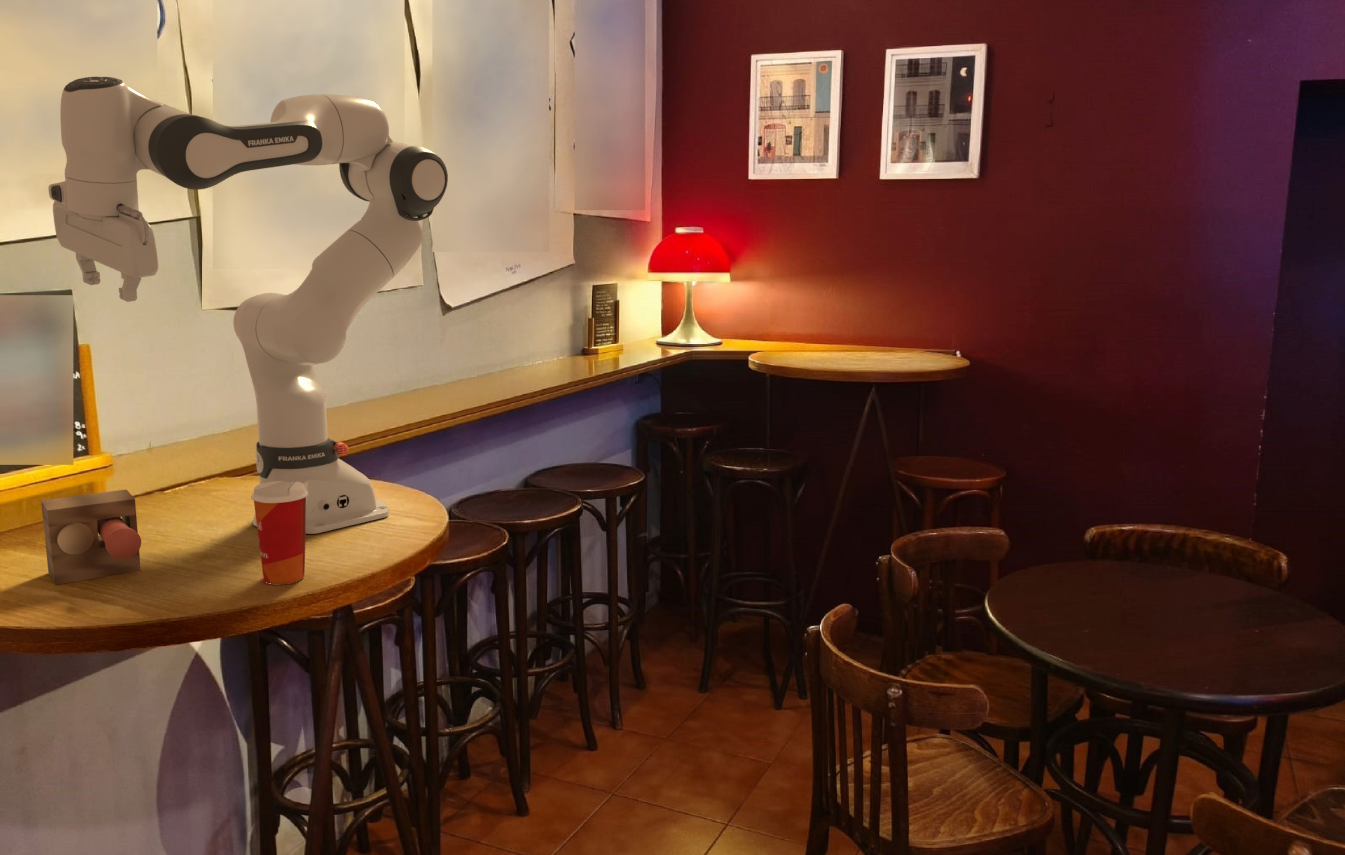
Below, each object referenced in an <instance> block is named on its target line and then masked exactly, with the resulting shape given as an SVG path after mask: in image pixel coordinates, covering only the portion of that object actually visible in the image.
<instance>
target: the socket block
mask: <svg viewBox="0 0 1345 855" xmlns="http://www.w3.org/2000/svg"><path fill="white" fill-rule="evenodd" d="M40 505H41V513H42V523H43V532H44V541H45V542H44V543H45V552H46V562H47V571H48V574H49V577H50V578H51V581H52V582H53V585H54V586H58V585H63V584H68V583H75V582H81V581H86V580H92V579H98V578H103V577H109V576H115V575H121V574H127V573H131V572H132V573H133V572H137V571H138V572H139V571H142V569H141V567H142V566H141V557H140V556H141V555H140V550H139V551H138V552H137V553H136V554H135V555H133V556H132V557H130V558H126V559H117V558H114V557H112V556H111V555H110V554H109V553H108V551H107V550H106V547H105V542H104V540H103V539H102V538H101V536H100V535H99V533H98V528H97V520H101V519H108V518H115V517H121V519H122V520H123V521H124V522H125V523H126V525H127V526H128V527H129V528H131V529H133V530H135V531H136V532H137V533H138V534H139V531H138V530H139V529H138V520H137V518H138V517H137V508H136V498H135V497H134V496H133V495H132V494H131V493H130V492H129V491H128V490H127V489H118V490H113V491H103V492H97V493H96V492H95V493H88V494H81V495H74V496H73V495H71V496H67V497H66V496H64V497H58V498H57V497H56V498H50V499H49V498H48V499H42V500H40Z"/></svg>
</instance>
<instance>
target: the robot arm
mask: <svg viewBox="0 0 1345 855" xmlns="http://www.w3.org/2000/svg"><path fill="white" fill-rule="evenodd" d="M59 120H60V134H61V145H62V147H63V150H64V152H65V155H66V156H65V158H66V163H65V166H64V167H65V168H64V179H65V180H64V181H60V182H55V183H50V184H49V185H48V195H49V198H50V200H52V201H53V204H52V214H53V224H54V231H55V236H56V239H57V241H58V243H59V245H60V246H61V247H62V248H64V249H67V250H70V251H71V252H73V253H75V259H76V261H77V264H78V266H79V268H80V270H81V272H82V282H83V283H85V284H87V285H89V286H94V285H99V284H100V283H101V274H100V272H99V271H97V267H96V263H99V264H101V265H104V266H106V267H108V268H110V269H113V270H115V271H118V272H119V273H120V274H121V276H120V277H121V278H120V279H122V280H123V281H122V286H121V287H119V288H118V293H119V294H118V296H119V299H120V300H122V301H125V302H127V303H130V302H135V301H136V300H137V299H138V292H137V290H138V287H139V285H140V283H141V281H142V278H146V277H148V278H149V277H152V276H155V275H156V274H157V272H158V270H159V259H158V258H159V257H158V251H157V245H156V237H155V235H154V231H153V228H152V226H151V224H149V223H148V221H147V220H146V218H145V216H144V215H143V212H142V211H139V194H138V193H139V192H138V178H137V177H138V175H137V174H138V172H139V171H141V170H150V171H152V172H154V173H156V174H158V175H160V176H163V177H165V178H166V179H167V180H170V181H171V182H173V183H174V184H175V185H177V186H179V187H181V188H183V189H189V190H197V191H198V190H205V189H209V188H212V187H215V186H217V185H219V184H220V183H222V182H223V181H225V180H227V179H229V178H232V176H235V175H237V174H241V173H243V172H250V171H256V170H257V171H258V170H263V169H271V168H276V167H277V168H279V167H283V166H290V165H291V166H292V165H299V166H326V165H337V164H338V165H339V167H338V168H339V173H340V178H341V181H342V184H343V185H344V186H345V188H346V189H347V191H348V192H350V193H351V194H352V195H353V196H354V197H356V198H358V199H360V200H362V201H365V202H368V203H369V204H368V206H367V208H366V211H365V212H364V214H363V215H362V217H361V218H360V220H358V221H357V222H356V223H354V224H353V225H352V226H350V227H349V228H348V229H347V230H346V231H344V233H342V235H340V236H339V237H338V238H337V239H336V240H334V241H333V242H332V243H331V244H330V245H329V246H328V247H326V248H325V250H323V251H322V252H321V253H320V254H319V255H317V257H316V258H314V260H313V261H312V264H311V270H310V271H309V273H308V275H307V276H306V278H304V280H303V281H302V283H301V285H300V286H298V288H296V289H295V290H294V291H292V292H290V293H288V294H283V293H282V294H281V293H278V292H264V293H261V294H256V295H253V296H252V297H249V298H247V299H245V300H244V301H241V303H240V304H239V305H238V307H237V309H236V310H235V312H234V316H233V321H232V322H233V324H232V325H233V328H234V332H235V335H236V337H237V338H238V340H239V342H240V344H241V345H242V349H243V353H244V355H245V360H246V363H247V368H248V372H249V374H250V378H251V382H252V385H253V391H254V396H255V404H256V416H257V417H256V418H257V419H256V420H257V433H258V441H257V442H256V444H255V445H256V447H255V448H256V452H255V462H256V471H257V475H258V476H259V478H258V480H259V481H258V485H260V484H263V483H267V482H273V481H283V482H285V481H293V482H294V483H295V482H301V483H303V484H304V486H305V489H306V491H307V492H308V495H307V496H306V528H305V534H310V535H312V534H313V535H314V534H315V535H316V534H320V533H323V532H329V531H332V530H333V531H334V530H338V529H341V528H346V527H350V526H354V525H358V524H362V523H366V522H367V523H368V522H371V521H374V520H376V521H377V520H379V519H382V518H383V519H384V518H387V517H388V516H389V515H390V511H389V506H388V505H387V504H386V503H384V502H383V501H382V500H380V499H378V498H376V495H375V491H374V487H373V484H372V482H371V481H370V479H369V478H368V477H367V476H366V475H365V474H363V473H362V472H360V471H358V470H357V469H356V468H355V467H353V466H352V465H350V464H348V463H347V462H345V461H343V460H342V459H340V458H339V456H345V455H347V454H348V453H349V450H350V448H349V446H348V445H347V444H346V443H344V442H342V441H339V442H338V441H336V440H333V439H331V438H329V437H328V422H327V420H328V418H327V398H326V395H325V394H326V393H325V391H324V390H323V388H322V386H321V384H320V382H319V380H318V378H317V374H316V372H315V369H314V365H320V364H325V363H328V362H330V361H333V359H335V358H336V357H337V356H339V354H340V353H341V352H342V350H343V348H344V346H345V343H346V338H347V331H348V329H349V328H350V325H351V324H352V322H353V321H354V320H355V318H356V317H357V315H358V313H359V312H360V311H361V310H362V308H364V306H365V305H366V304H367V303H368V302H369V301H370V300H371V299H373V298H374V296H375V295H376V294H377V293H379V292H380V290H382V289H383V288H384V287H385V286H386V285H387V284H388V283H389V282H390V281H391V280H392V279H393V278H395V277H396V275H398V274H399V273H400V271H401V270H402V269H404V268H405V266H406V265H407V264H408V263H409V262H410V260H411V259H412V258H413V256H414V255H415V253H417V250H418V249H419V247H420V246H421V244H422V242H423V239H424V230H423V227H422V225H421V223H420V221H422V220H425V219H427V218H429V217H431V216H432V214H433V213H434V212H433V211H434V210H435V208H436V207H437V205H439V203H440V202H441V200H442V199H443V197H444V195H445V193H446V190H447V188H448V182H449V177H448V176H449V175H448V170H447V167H446V164H445V162H444V161H443V159H442V158H441V157H440V156H439V155H437V154H436V153H435V152H434V151H431V149H428V148H426V147H423V146H419V145H411V144H407V143H404V142H403V143H402V142H398V141H394V140H393V139H392V138H391V137H390V127H389V121H388V118H387V116H386V114H385V112H384V110H383V109H382V108H381V107H380V105H378V104H377V103H376V102H375V101H372V100H370V99H367V98H364V97H358V96H354V95H353V96H352V95H345V94H331V93H330V94H327V93H325V94H323V93H321V94H305V95H304V94H303V95H298V96H295V97H294V96H293V97H290V98H289V97H288V98H286V99H282V100H281V101H280V102H278V103H277V104H276V106H275V108H274V109H273V111H272V114H271V117H270V122H263V123H254V124H253V123H252V124H244V125H243V124H242V125H232V126H229V125H225V124H221V123H219V122H218V121H215V120H212V119H210V118H208V117H203V116H199V115H197V114H191V113H188V112H186V111H183V110H181V109H177V108H175V107H173V106H170V105H167V104H164V103H162V102H161V101H160V102H159V101H157V100H154V99H152V98H150V97H148V96H147V95H144V94H142V93H140V92H138V91H137V90H135V89H133V88H132V87H130V86H129V85H127V84H126V83H125V82H124V81H123V80H122V79H120V78H116V77H113V76H111V77H110V76H87V77H82V78H77V79H74V80H72V81H70V82H68V83H67V84H66V85H65V86H64V88H63V89H62V92H61V98H60V119H59ZM424 215H425V216H424ZM95 262H96V263H95ZM252 524H253V526H255V527H256V528H257V523H256V514H255V513H254V516H253V520H252Z"/></svg>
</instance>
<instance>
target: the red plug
mask: <svg viewBox="0 0 1345 855" xmlns="http://www.w3.org/2000/svg"><path fill="white" fill-rule="evenodd" d="M97 528H98V536H101V538H102V539H103V540H104V542H105V547H106V550H107V551H108V553H109V554H110V555H111V556H112V557H114V558H117V559H126V558H130V557H132V556H133V555H135V554H136V553H137V552H138V551H139V552H140V548H141V546H142V538H141V535H140V534H139V532H138V533H137V532H136V531H135V530H133V529H131V528H129V527H128V526H127V525H126V523H125V522H124V521H123V520H122V517H115V518H108V519H101V520H97Z"/></svg>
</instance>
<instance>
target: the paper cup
mask: <svg viewBox="0 0 1345 855" xmlns="http://www.w3.org/2000/svg"><path fill="white" fill-rule="evenodd" d="M307 495H308V492H307V491H306V489H305V486H304V484H303V483H301V482H295V483H294V482H293V481H285V482H283V481H273V482H267V483H263V484H260V485H259V484H257V485H256V486H254V488H253V493H252V494H251V496H250V498H251V500H252V501H253V506H254V515H255V514H256V523H257V527H256V530H257V537H258V546H259V547H258V548H259V554H260V555H259V556H260V563H261V570H262V576H263V580H264V583H266V582H267V583H271V584H278V585H277V586H280V585H279V584H283V585H282V586H284V584H287V585H289V584H288V583H293V582H296V581H299V580H301V579H302V578H303V577H304V578H305V572H306V571H305V567H306V566H305V565H306V564H305V563H306V533H305V528H306V496H307ZM304 578H303V579H304ZM303 579H302V580H303ZM302 580H301V581H302ZM299 582H300V581H299ZM267 583H266V584H267ZM296 583H297V582H296ZM271 584H270V585H271ZM293 584H294V583H293Z"/></svg>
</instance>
